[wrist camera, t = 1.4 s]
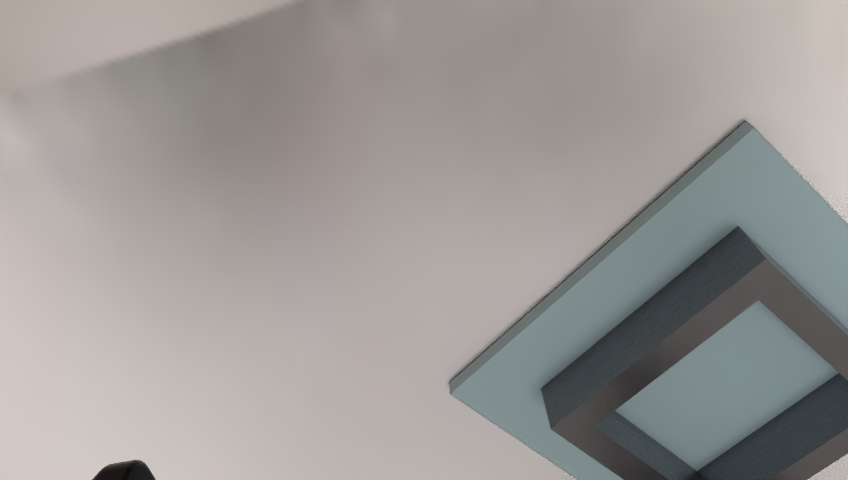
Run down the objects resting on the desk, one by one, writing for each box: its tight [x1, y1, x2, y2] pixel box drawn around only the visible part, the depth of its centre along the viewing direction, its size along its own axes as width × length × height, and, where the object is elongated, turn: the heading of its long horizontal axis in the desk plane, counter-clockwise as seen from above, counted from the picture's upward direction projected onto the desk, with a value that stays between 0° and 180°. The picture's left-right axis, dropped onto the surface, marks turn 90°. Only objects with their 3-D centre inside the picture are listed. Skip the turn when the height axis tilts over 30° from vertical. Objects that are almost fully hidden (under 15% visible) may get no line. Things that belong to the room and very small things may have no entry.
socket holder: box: [449, 121, 848, 480], centre depth 24 cm, size 13×13×3 cm
